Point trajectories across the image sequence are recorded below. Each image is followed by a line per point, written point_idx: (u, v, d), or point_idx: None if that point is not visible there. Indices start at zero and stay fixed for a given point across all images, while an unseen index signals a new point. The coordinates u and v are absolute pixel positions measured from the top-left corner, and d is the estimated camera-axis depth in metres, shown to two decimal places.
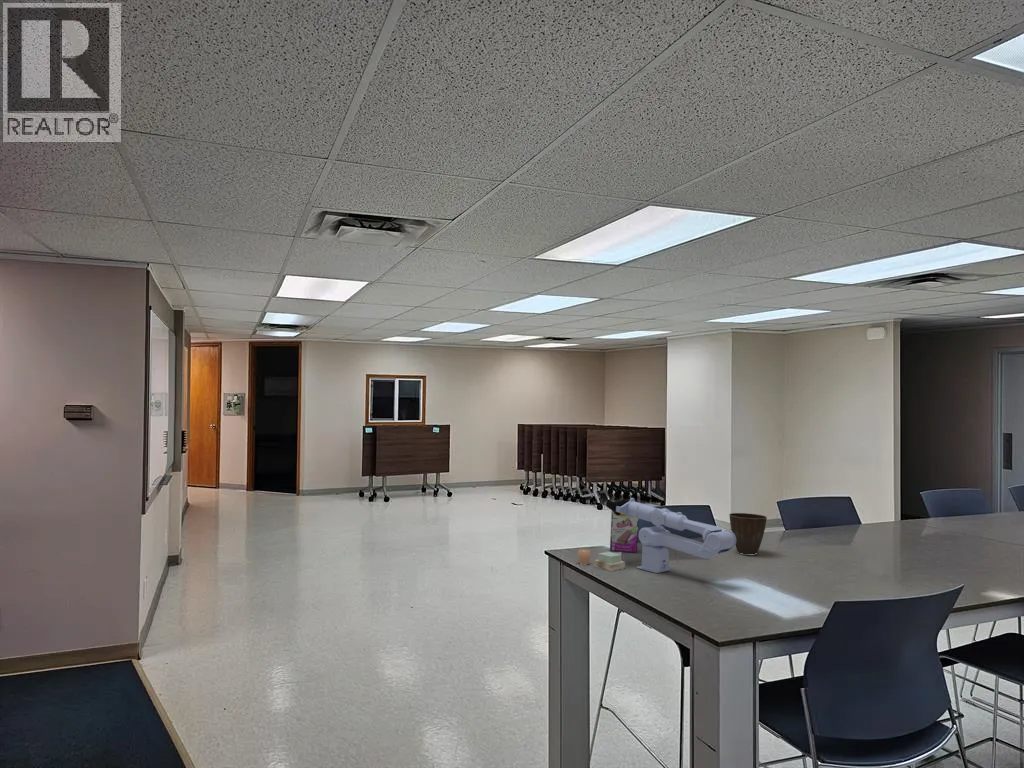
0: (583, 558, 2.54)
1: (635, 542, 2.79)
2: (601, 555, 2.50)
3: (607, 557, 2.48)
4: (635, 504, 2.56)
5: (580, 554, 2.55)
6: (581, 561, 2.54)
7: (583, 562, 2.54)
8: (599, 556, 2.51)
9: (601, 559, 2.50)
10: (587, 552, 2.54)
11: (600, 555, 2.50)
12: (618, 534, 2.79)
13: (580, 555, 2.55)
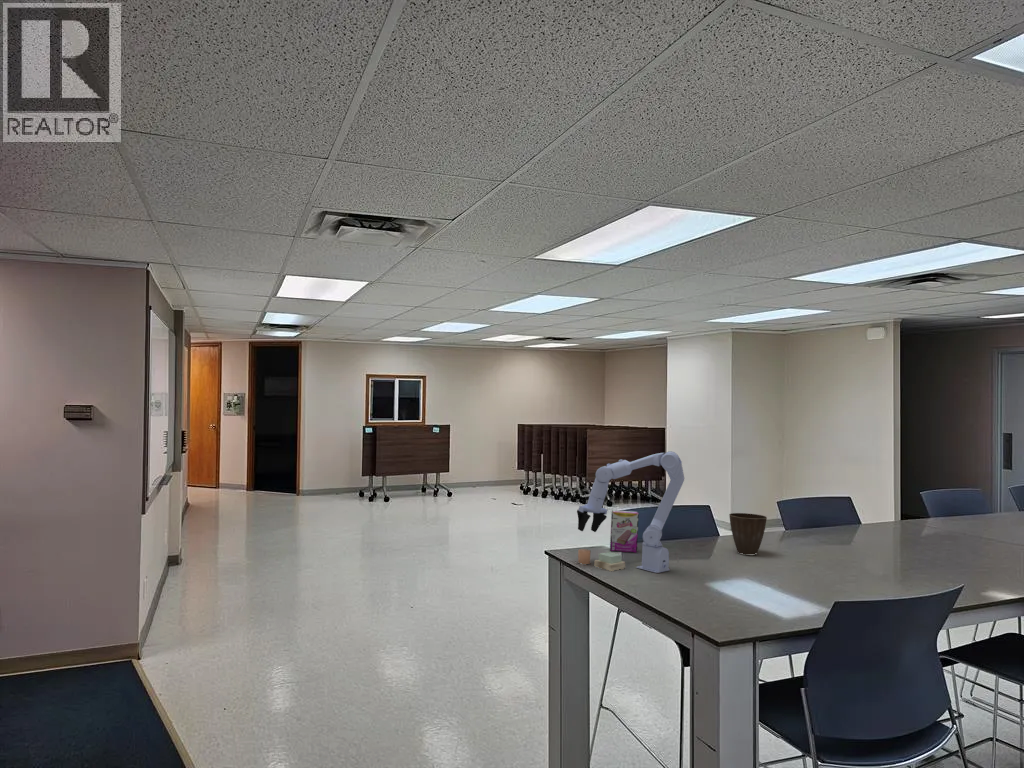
0: (583, 558, 2.54)
1: (635, 542, 2.79)
2: (601, 555, 2.50)
3: (607, 557, 2.48)
4: None
5: (580, 554, 2.55)
6: (581, 561, 2.54)
7: (583, 562, 2.54)
8: (599, 556, 2.51)
9: (601, 559, 2.50)
10: (587, 552, 2.54)
11: (600, 555, 2.50)
12: (618, 534, 2.79)
13: (580, 555, 2.55)
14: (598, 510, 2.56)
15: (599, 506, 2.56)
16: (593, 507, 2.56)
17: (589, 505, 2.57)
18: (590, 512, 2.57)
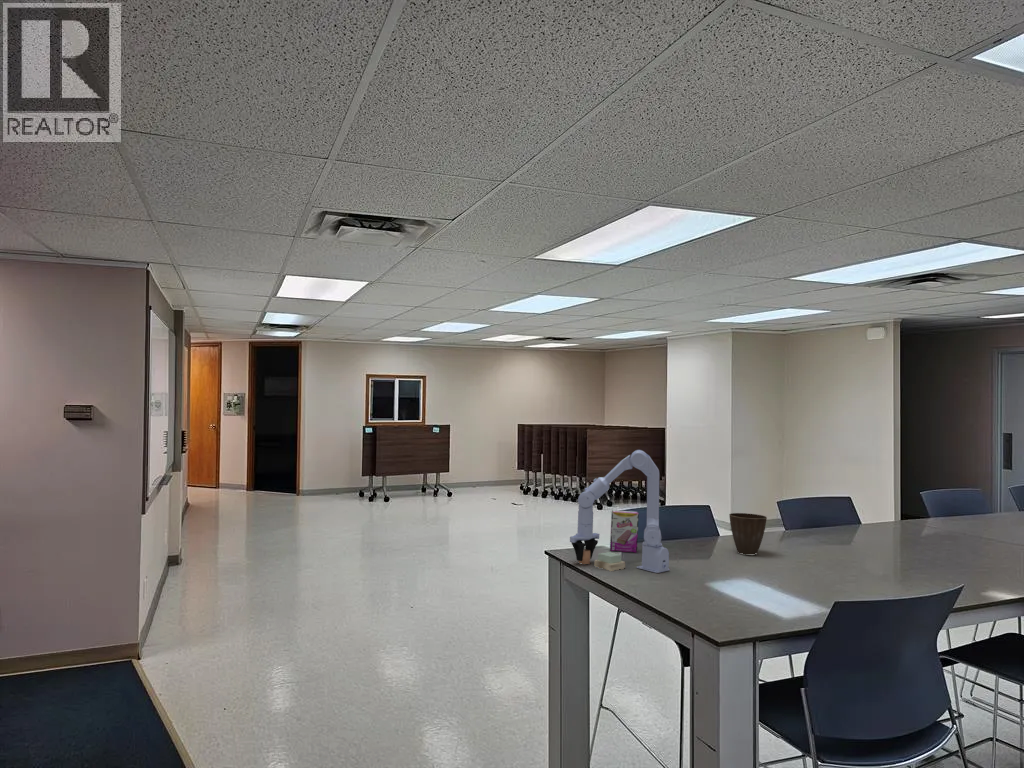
0: (583, 558, 2.54)
1: (635, 542, 2.79)
2: (601, 555, 2.50)
3: (607, 557, 2.48)
4: None
5: None
6: (581, 561, 2.54)
7: (583, 562, 2.54)
8: (599, 556, 2.51)
9: (601, 559, 2.50)
10: (587, 552, 2.54)
11: (600, 555, 2.50)
12: (618, 534, 2.79)
13: None
14: (589, 536, 2.54)
15: (589, 532, 2.54)
16: (584, 534, 2.54)
17: (579, 534, 2.55)
18: (582, 540, 2.55)
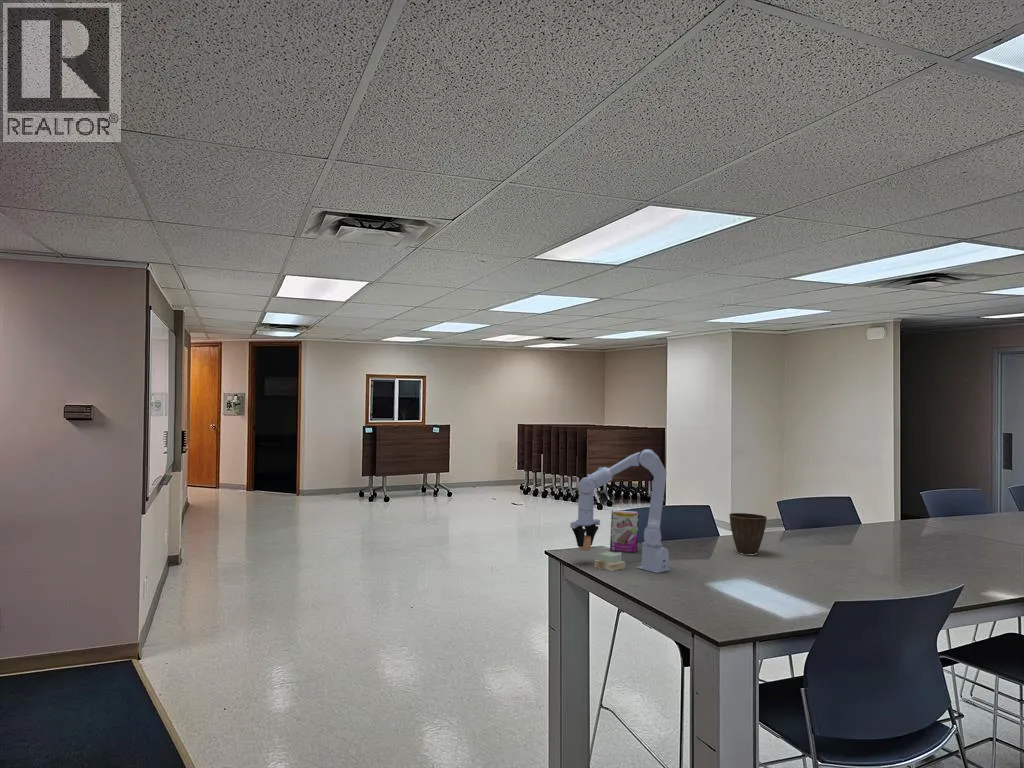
0: (584, 544, 2.54)
1: (635, 542, 2.79)
2: (601, 555, 2.50)
3: (607, 557, 2.48)
4: (578, 513, 2.57)
5: None
6: (582, 547, 2.54)
7: (584, 548, 2.54)
8: (599, 556, 2.51)
9: (601, 559, 2.50)
10: (588, 538, 2.54)
11: (600, 555, 2.51)
12: (618, 534, 2.79)
13: None
14: (590, 522, 2.54)
15: (590, 518, 2.54)
16: (584, 520, 2.54)
17: (580, 519, 2.55)
18: (583, 526, 2.55)
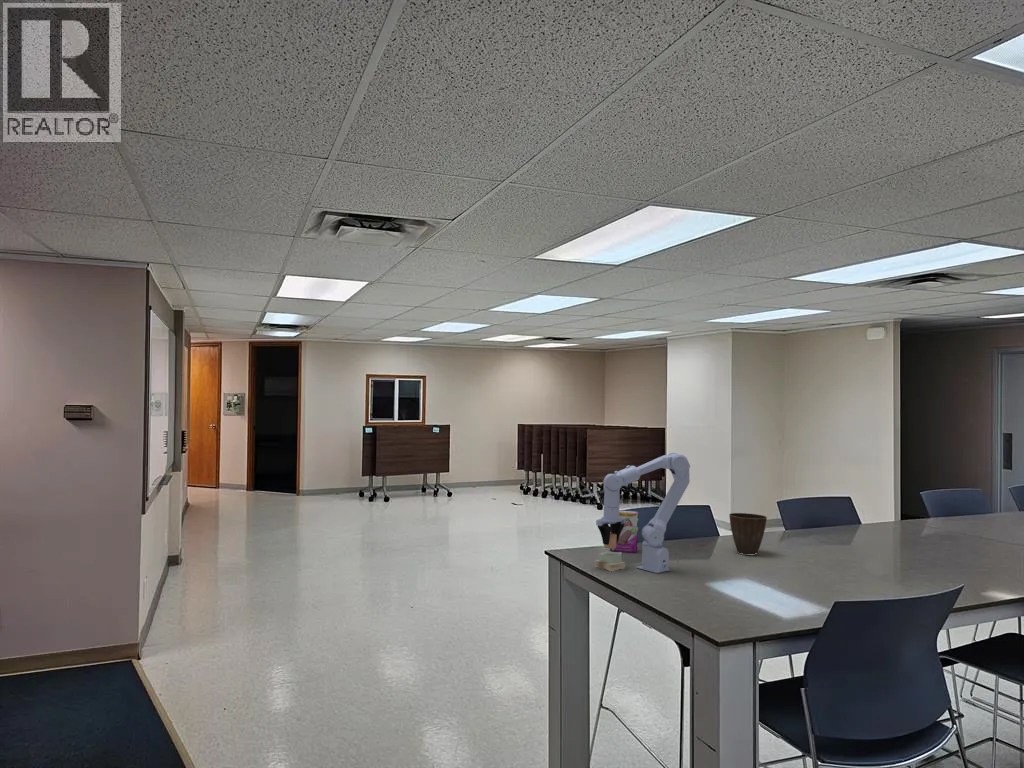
0: (609, 542, 2.49)
1: (635, 542, 2.79)
2: (601, 555, 2.50)
3: (607, 557, 2.48)
4: None
5: None
6: (607, 545, 2.49)
7: (609, 546, 2.49)
8: (599, 556, 2.51)
9: (601, 559, 2.50)
10: (613, 535, 2.49)
11: (600, 555, 2.50)
12: None
13: None
14: (616, 519, 2.49)
15: (616, 515, 2.49)
16: (610, 518, 2.48)
17: (606, 517, 2.49)
18: None
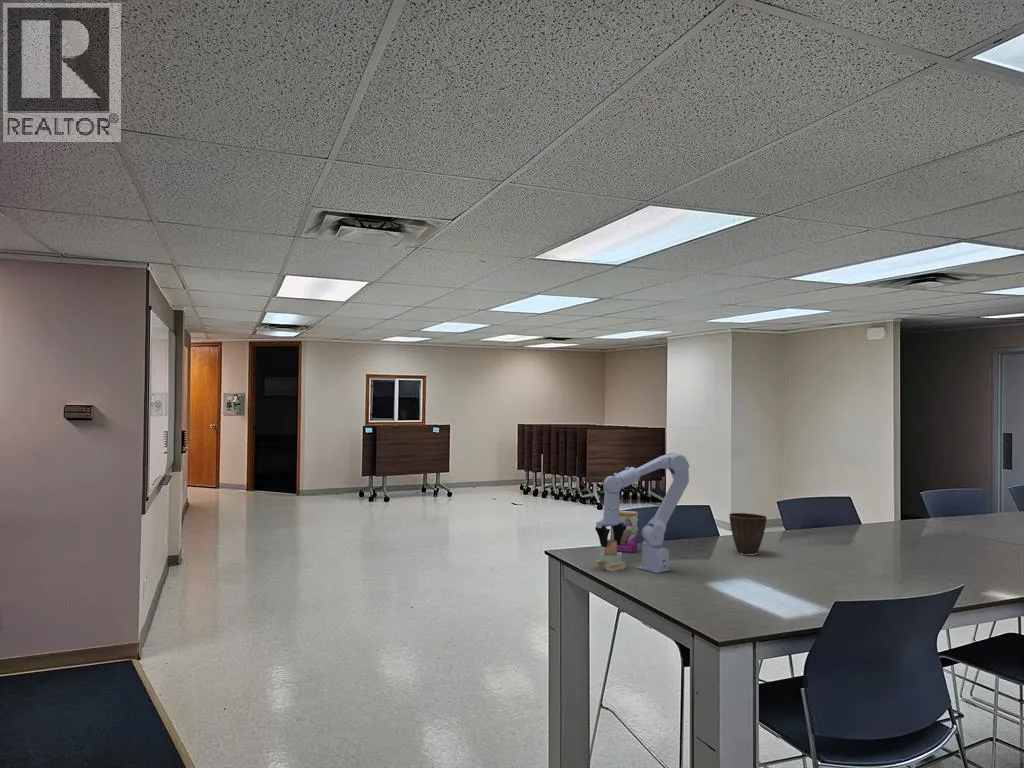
0: (609, 549, 2.49)
1: (635, 542, 2.79)
2: (601, 555, 2.50)
3: (607, 557, 2.48)
4: None
5: None
6: (607, 552, 2.49)
7: (610, 553, 2.49)
8: (599, 556, 2.50)
9: (601, 559, 2.50)
10: (614, 542, 2.49)
11: (600, 555, 2.50)
12: None
13: None
14: (616, 522, 2.49)
15: (616, 517, 2.49)
16: (610, 520, 2.48)
17: (606, 519, 2.49)
18: None
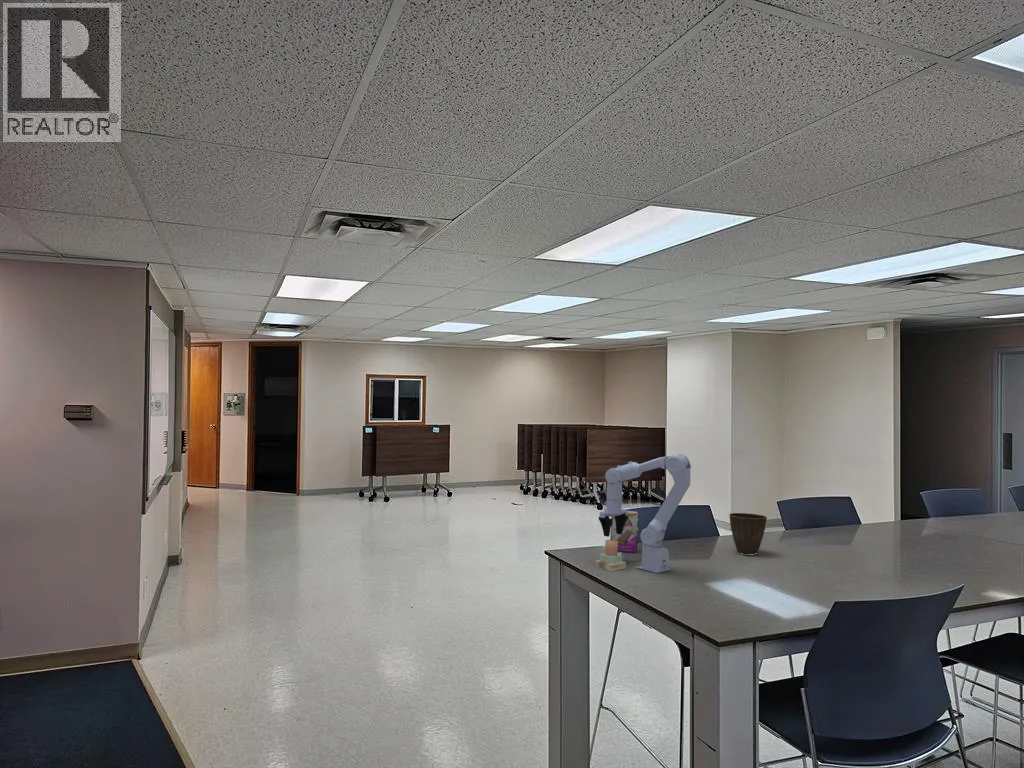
0: (609, 549, 2.49)
1: (635, 542, 2.79)
2: (603, 556, 2.50)
3: (609, 558, 2.48)
4: None
5: (606, 544, 2.50)
6: (607, 552, 2.49)
7: (609, 553, 2.49)
8: (600, 557, 2.50)
9: (603, 560, 2.49)
10: (613, 543, 2.49)
11: (601, 556, 2.50)
12: (618, 534, 2.79)
13: (606, 545, 2.50)
14: (618, 512, 2.58)
15: (618, 508, 2.58)
16: (613, 510, 2.57)
17: (609, 509, 2.58)
18: None
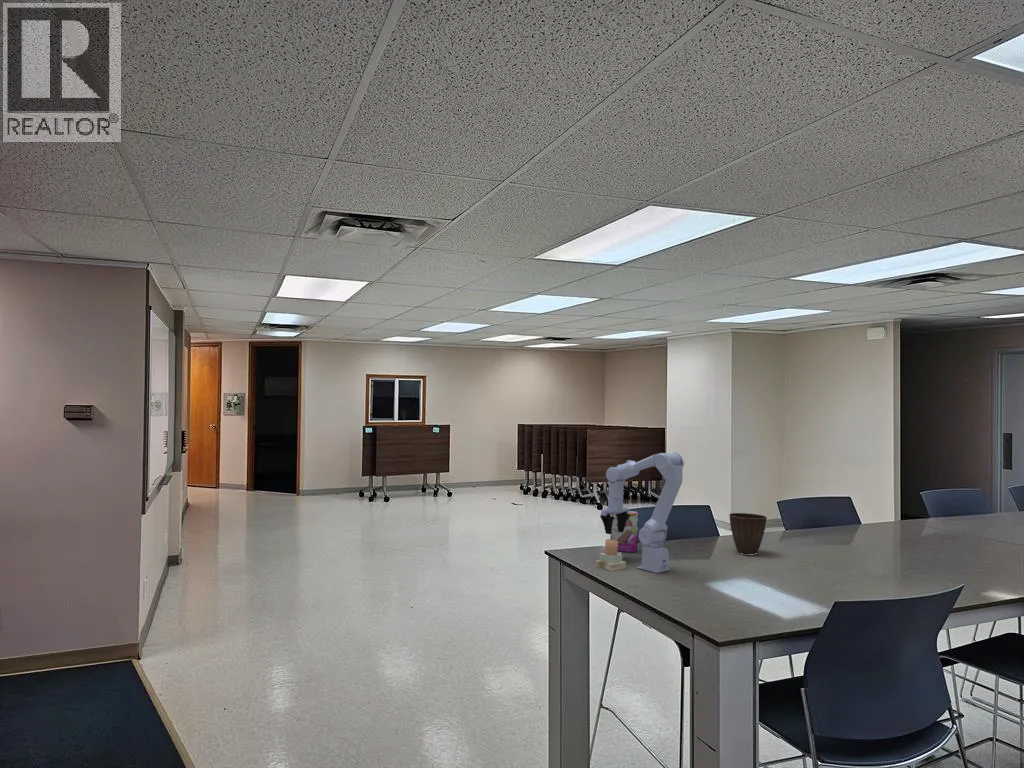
0: (609, 549, 2.49)
1: (635, 542, 2.79)
2: (602, 555, 2.50)
3: (609, 557, 2.48)
4: (608, 501, 2.66)
5: (607, 544, 2.50)
6: (607, 551, 2.49)
7: (609, 552, 2.49)
8: (600, 556, 2.50)
9: (602, 559, 2.50)
10: (614, 542, 2.49)
11: (601, 555, 2.50)
12: (618, 534, 2.79)
13: (607, 545, 2.50)
14: (620, 510, 2.63)
15: (620, 506, 2.63)
16: (614, 508, 2.62)
17: (610, 507, 2.63)
18: None
